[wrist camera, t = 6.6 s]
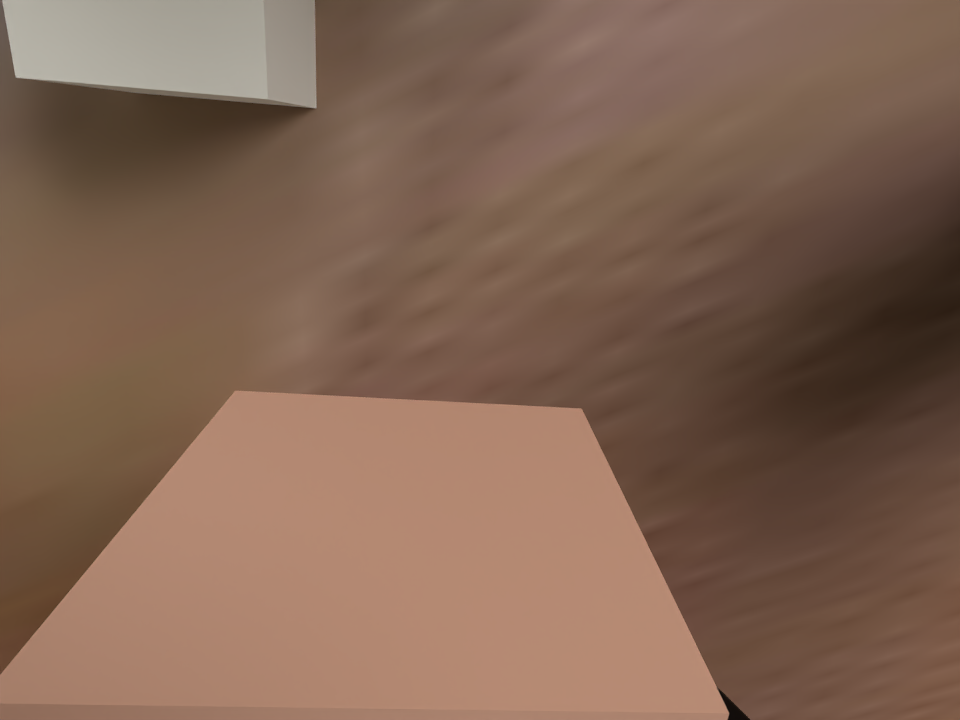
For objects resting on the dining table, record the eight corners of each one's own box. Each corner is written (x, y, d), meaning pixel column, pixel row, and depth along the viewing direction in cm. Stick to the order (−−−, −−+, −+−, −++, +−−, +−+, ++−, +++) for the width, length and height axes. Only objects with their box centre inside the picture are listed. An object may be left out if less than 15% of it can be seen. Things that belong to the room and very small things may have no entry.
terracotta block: (581, 408, 9) (728, 713, 4) (542, 664, 11) (615, 1080, 6) (235, 390, 9) (-22, 702, 4) (253, 658, 10) (90, 1096, 6)
